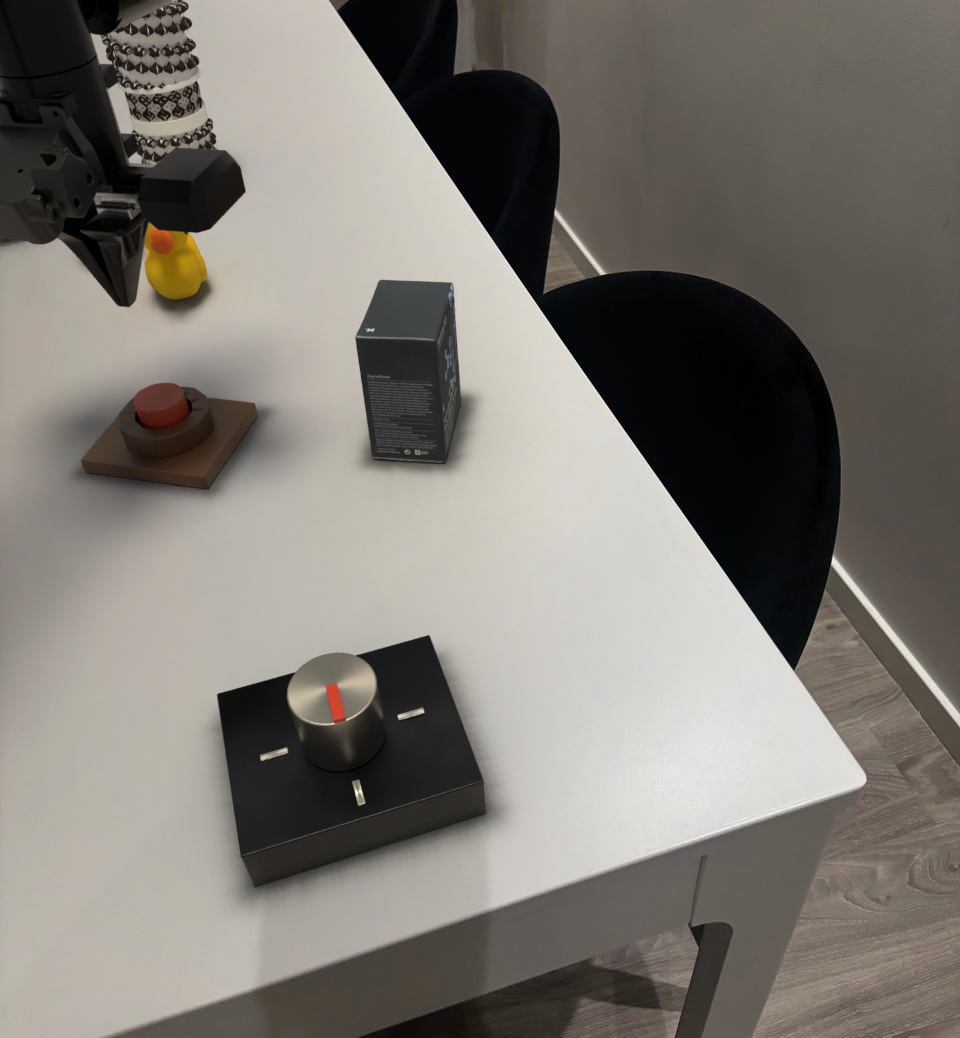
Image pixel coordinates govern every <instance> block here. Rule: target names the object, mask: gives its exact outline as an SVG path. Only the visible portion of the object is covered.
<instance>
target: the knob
mask: <svg viewBox="0 0 960 1038" xmlns="http://www.w3.org/2000/svg"><path fill="white" fill-rule="evenodd" d="M355 655H356V654H355ZM355 655H354V654H351V653H347V652H330V653H324V654H322V655H318V656H316V657H314V658H313V657H312V658H311V659H310V660H308V661H306V662H305V663H303V664H302V665H301V666H300V667H299V668H298V669H297V670H296V671H294V672H295V674H294V675H293V677H292V679H291V680H290V683H289V685H288V689H287V701H288V704H289V708H290V711H291V714H292V717H293V721H294V724H295V727H296V730H297V734H298V737H299V740H300V743H301V747H302V750H303V752H304V754H305V756H306V757H307V758H308V759H309V761H310V762H312V763H313V764H314V765H316V766H318V767H320V768H322V769H325V770H329V771H347V770H351V769H354V768H357V767H360V766H362V765H364V764H365V763H367V762H368V761H369V760H371V759H372V758H373V757H374V756H375V755H376V754H377V753H378V751H379V750H380V748H381V747H382V745H383V743H384V740H385V736H386V724H385V719H384V714H383V709H382V704H381V699H380V694H379V689H378V684H377V679H376V675H375V672H374V671H373V669H372V667H371V666H370V665H369V664H368V663H367V662H366V661H364V660H363V659H361V658H359V657H357V656H355Z"/></svg>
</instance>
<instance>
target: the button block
mask: <svg viewBox="0 0 960 1038" xmlns="http://www.w3.org/2000/svg"><path fill="white" fill-rule="evenodd" d="M179 386H180V387H181V388H182V389H183V391H184V394H185V398H186V401H187V404H188V407H189V415H188V417H187V418H186V419H185V420H183V421H181V422H179V423H177V424H175V425H174V426H170V427H165V428H160V429H150V428H145V427H144V426H143V425H142V424H141V422H140V419H139V416H138V414H137V411H136V408H135V405H134V398H135V396H136V395H137V393H136V394H135V395H134V396H133V397H132V398H131V399H130V400H129V401H128V402H127V403H126V404H125V406H124V407H123V408H122V409H121V410H120V412H119V413H118V415H117V416H116V418H115V419H114V420H113V421H112V422H111V423H110V425H109V426H108V427H107V428H106V429H105V430H104V432H103V433H102V434H101V435H100V436H99V438H98V439H97V440H95V442H94V444H93V445H92V446H91V447H90V448H89V449H88V451H87V452H86V453H85V454H84V455H83V456H82V458H81V459H80V463H81V466H82V467H83V470H84V472H85V473H89V474H97V475H103V476H109V477H110V476H112V477H116V478H117V477H119V478H124V479H133V480H139V481H146V482H154V483H161V484H167V485H175V486H183V487H190V488H197V489H204V490H205V489H206V490H208V489H209V488H210V486H211V485H212V483H213V482H214V481H215V479H216V478H217V476H218V475H219V473H220V472H221V470H222V469H223V467H224V466H225V464H226V463H227V461H228V460H229V458H230V457H231V455H233V452H235V450H236V448H237V447H238V445H239V444H240V442H241V441H242V439H243V438H244V436H245V435H246V433H247V432H248V430H249V429H250V427H251V426H252V424H253V423H254V422H255V420H256V419H257V417H258V416H259V413H258V409H257V406H256V402H250V401H241V400H235V399H234V400H232V399H226V398H225V399H223V398H217V397H216V398H214V397H208V396H207V395H206V394H204V393H203V392H201V391H200V390H199V389H197V388H195V387H192V386H191V387H190V386H183V385H179ZM141 390H142V389H140V390H139V391H138V392H140V391H141Z"/></svg>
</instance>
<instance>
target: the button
mask: <svg viewBox="0 0 960 1038" xmlns="http://www.w3.org/2000/svg"><path fill="white" fill-rule="evenodd" d="M180 386H181V385H179V384H177V383H173V382H157V383H153V384H151V385H148V386H146V387H144V388H142V389H140V390H141V391H140V390H139V391H140V392H139V391H137V392H136V394H137V395H136V394H135V395H136V396H135V395H134V397H135V398H134V397H133V398H134V405H135V408H136V411H137V414H138V416H139V419H140V422H141V424H142V425H143V426H144V427H145V428H150V429H160V428H165V427H170V426H174V425H175V424H177V423H179V422H181V421H183V420H185V419H186V418H187V417H188V415H189V407H188V404H187V401H186V398H185V394H184V391H183V389H182V388H181V387H180Z"/></svg>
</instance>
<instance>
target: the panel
mask: <svg viewBox="0 0 960 1038" xmlns="http://www.w3.org/2000/svg"><path fill="white" fill-rule="evenodd" d="M355 656H357V657H359V658H361V659H363V660H364V661H366V662H367V663H368V664H369V665H370V666H371V667H372V669H373V671H374V672H375V675H376V679H377V684H378V689H379V694H380V699H381V704H382V709H383V714H384V719H385V724H386V736H385V740H384V743H383V745H382V747H381V748H380V750H379V751H378V753H377V754H376V755H375V756H374V757H373V758H372V759H371V760H369V761H368V762H367V763H365V764H364V765H362V766H360V767H357V768H354V769H351V770H347V771H329V770H325V769H322V768H320V767H318V766H316V765H314V764H313V763H312V762H310V761H309V759H308V758H307V757H306V756H305V754H304V752H303V750H302V747H301V743H300V740H299V737H298V734H297V730H296V727H295V724H294V721H293V717H292V714H291V711H290V708H289V704H288V701H287V689H288V685H289V683H290V680H291V679H292V677H293V675H294V674H295V672H296V671H294V672H291V673H287V674H283V675H280V676H276V677H272V678H269V679H266V680H265V679H264V680H261V681H258V682H255V683H251V684H247V685H243V686H241V687H236V688H233V689H228V690H226V691H222V692H218V693H217V694H216V700H217V706H218V714H219V720H220V726H221V733H222V740H223V741H222V742H223V746H224V753H225V754H224V755H225V760H226V767H227V774H228V780H229V781H228V782H229V788H230V794H231V800H232V802H231V803H232V807H233V808H232V809H233V814H234V820H235V827H236V828H235V829H236V835H237V842H238V846H239V849H238V850H239V855H240V859H241V861H242V863H243V865H244V867H245V870H246V872H247V874H248V876H249V880H250V881H251V884H252V886H253V887H258V886H261V885H264V884H267V883H269V882H270V883H271V882H273V881H277V880H280V879H283V878H286V877H290V876H292V875H295V874H299V873H302V872H305V871H308V870H311V869H314V868H317V867H321V866H323V865H326V864H330V863H333V862H336V861H340V860H343V859H346V858H348V857H352V856H355V855H359V854H361V853H365V852H368V851H371V850H373V849H377V848H381V847H384V846H386V845H389V844H394V843H396V842H399V841H402V840H406V839H408V838H409V839H410V838H412V837H415V836H418V835H422V834H424V833H427V832H430V831H434V830H438V829H441V828H443V827H447V826H450V825H452V824H455V823H459V822H462V821H465V820H469V819H472V818H475V817H478V816H480V815H484V814H487V800H486V789H485V788H486V787H485V780H484V777H483V775H482V771H481V770H480V767H479V764H478V761H477V758H476V756H475V753H474V751H473V748H472V745H471V742H470V740H469V737H468V734H467V731H466V730H465V726H464V724H463V721H462V718H461V716H460V713H459V710H458V707H457V705H456V701H455V700H454V697H453V694H452V691H451V689H450V686H449V683H448V681H447V677H446V675H445V673H444V670H443V667H442V665H441V662H440V659H439V656H438V654H437V651H436V648H435V645H434V643H433V640H432V638H431V635H429V634H427V635H424V636H420V637H417V638H412V639H410V640H406V641H405V640H404V641H403V642H398V643H395V644H392V645H388V646H384V647H381V648H377V649H373V650H369V651H367V652H363V653H359V654H355Z"/></svg>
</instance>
